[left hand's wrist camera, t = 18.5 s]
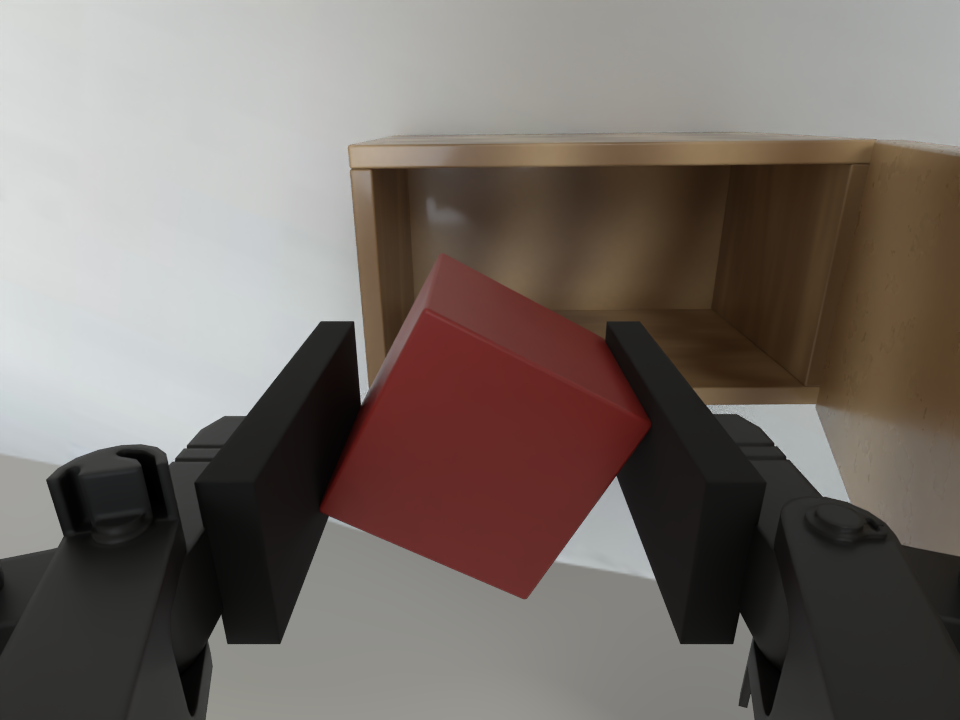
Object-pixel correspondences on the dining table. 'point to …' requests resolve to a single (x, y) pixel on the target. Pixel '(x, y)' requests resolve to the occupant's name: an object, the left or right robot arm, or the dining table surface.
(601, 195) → the brown hollow rectangular box
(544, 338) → the block
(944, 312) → the lid
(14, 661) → the left robot arm
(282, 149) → the dining table surface
